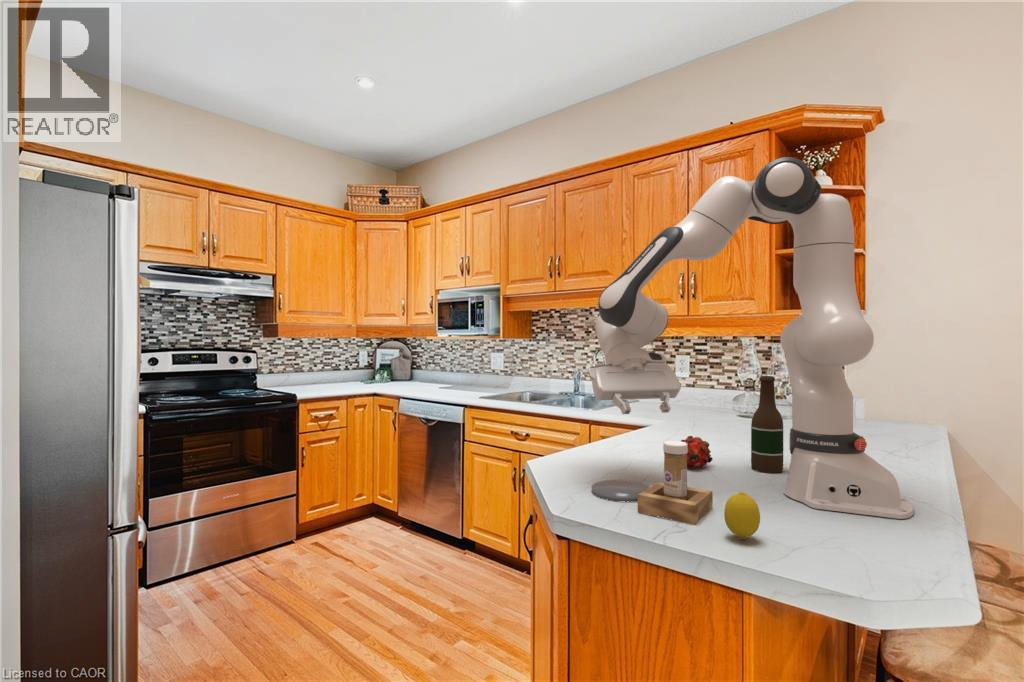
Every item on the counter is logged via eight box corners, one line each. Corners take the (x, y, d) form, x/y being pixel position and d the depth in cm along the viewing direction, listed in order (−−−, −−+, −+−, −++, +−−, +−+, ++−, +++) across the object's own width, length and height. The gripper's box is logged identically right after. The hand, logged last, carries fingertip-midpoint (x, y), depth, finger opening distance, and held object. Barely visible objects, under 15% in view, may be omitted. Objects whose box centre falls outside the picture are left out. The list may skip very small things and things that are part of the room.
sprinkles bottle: (658, 510, 102) (658, 442, 102) (670, 505, 105) (670, 439, 105) (680, 516, 98) (680, 445, 98) (692, 510, 102) (692, 442, 101)
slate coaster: (661, 490, 115) (661, 486, 115) (637, 506, 104) (637, 501, 104) (608, 481, 122) (608, 476, 122) (581, 494, 112) (581, 489, 112)
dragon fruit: (696, 466, 142) (696, 485, 131) (670, 447, 143) (668, 464, 132) (716, 444, 139) (718, 460, 128) (689, 424, 141) (689, 439, 130)
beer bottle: (746, 465, 137) (746, 374, 136) (777, 466, 136) (777, 375, 135) (756, 473, 129) (756, 377, 129) (789, 474, 128) (789, 377, 128)
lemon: (764, 547, 84) (764, 497, 84) (727, 544, 85) (727, 495, 85) (755, 534, 89) (755, 488, 89) (721, 532, 90) (721, 486, 90)
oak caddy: (712, 508, 103) (712, 491, 103) (694, 524, 94) (694, 505, 94) (658, 498, 109) (658, 481, 109) (637, 512, 101) (637, 494, 101)
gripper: (589, 356, 118) (606, 404, 108) (670, 355, 122) (694, 401, 113) (582, 374, 122) (598, 422, 113) (661, 372, 127) (682, 418, 117)
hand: (646, 411), depth 113 cm, fingers open, 8 cm apart
